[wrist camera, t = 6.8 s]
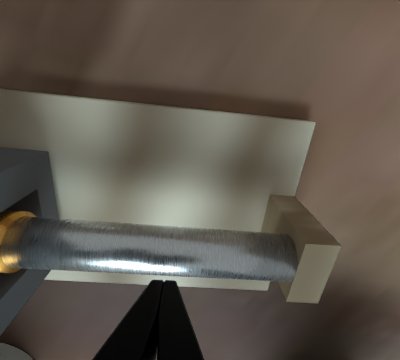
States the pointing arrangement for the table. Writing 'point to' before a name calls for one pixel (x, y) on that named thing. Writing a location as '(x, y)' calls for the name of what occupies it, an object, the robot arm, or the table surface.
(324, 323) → the table surface
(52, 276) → the stand
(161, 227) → the rod
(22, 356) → the coffee cup
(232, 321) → the table surface
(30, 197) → the collar
